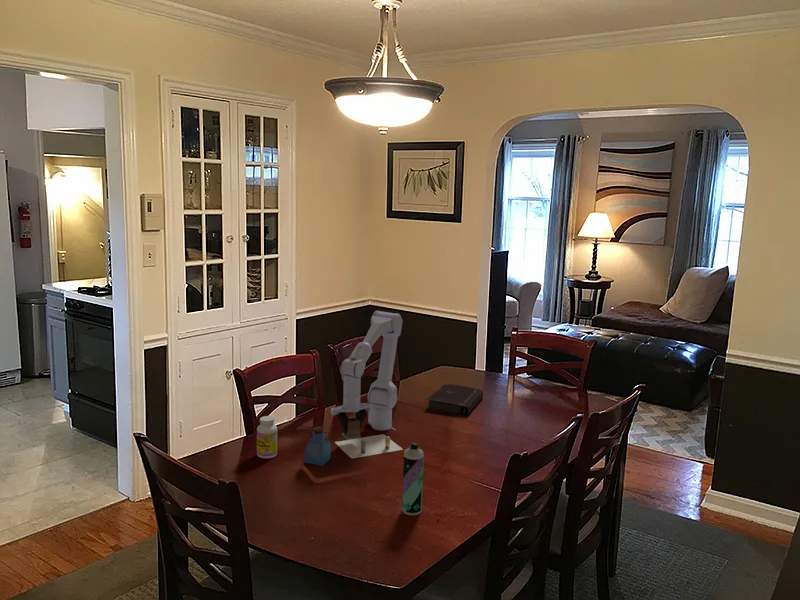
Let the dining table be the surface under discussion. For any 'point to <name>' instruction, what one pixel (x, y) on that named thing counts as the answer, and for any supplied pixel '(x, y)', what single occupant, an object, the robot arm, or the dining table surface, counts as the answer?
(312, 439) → the perfume bottle
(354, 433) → the walnut sleeve
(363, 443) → the steel pin
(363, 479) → the dining table surface
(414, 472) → the spray can
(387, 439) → the brass pin
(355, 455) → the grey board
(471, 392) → the diary
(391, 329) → the robot arm
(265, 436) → the supplement bottle
